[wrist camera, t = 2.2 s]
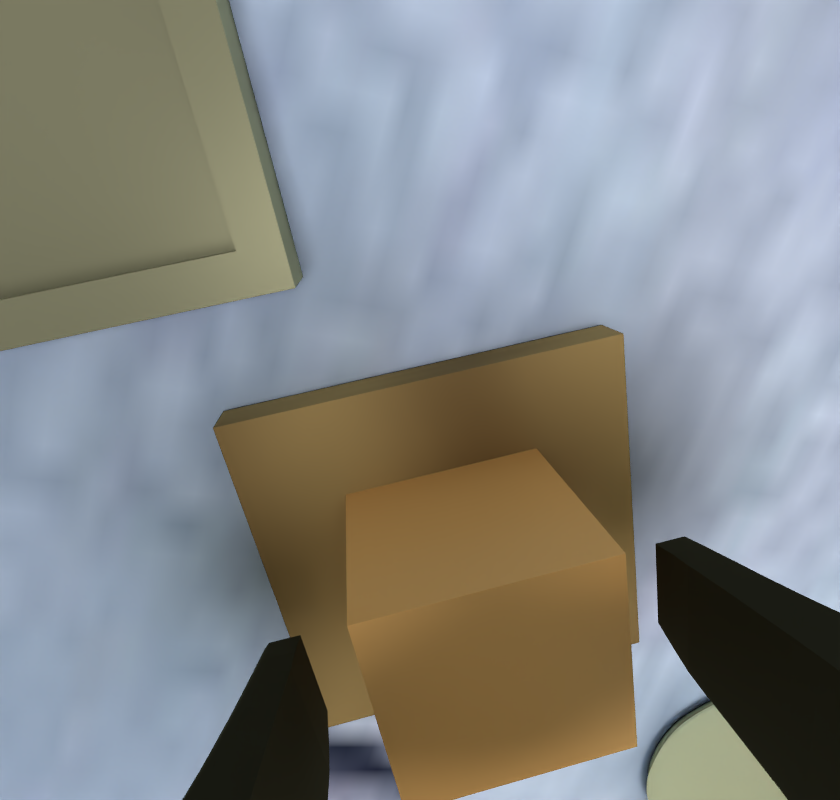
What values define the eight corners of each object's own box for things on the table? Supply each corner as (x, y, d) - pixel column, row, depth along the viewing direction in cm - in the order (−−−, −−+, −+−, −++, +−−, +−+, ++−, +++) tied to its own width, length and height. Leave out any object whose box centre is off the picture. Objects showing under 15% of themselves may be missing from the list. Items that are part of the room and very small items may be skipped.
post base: (324, 696, 15) (319, 843, 11) (223, 411, 12) (172, 493, 8) (621, 616, 15) (702, 732, 12) (601, 325, 12) (704, 366, 9)
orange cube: (387, 644, 13) (405, 813, 9) (345, 494, 12) (346, 626, 8) (555, 600, 13) (637, 746, 10) (536, 448, 12) (625, 553, 8)
